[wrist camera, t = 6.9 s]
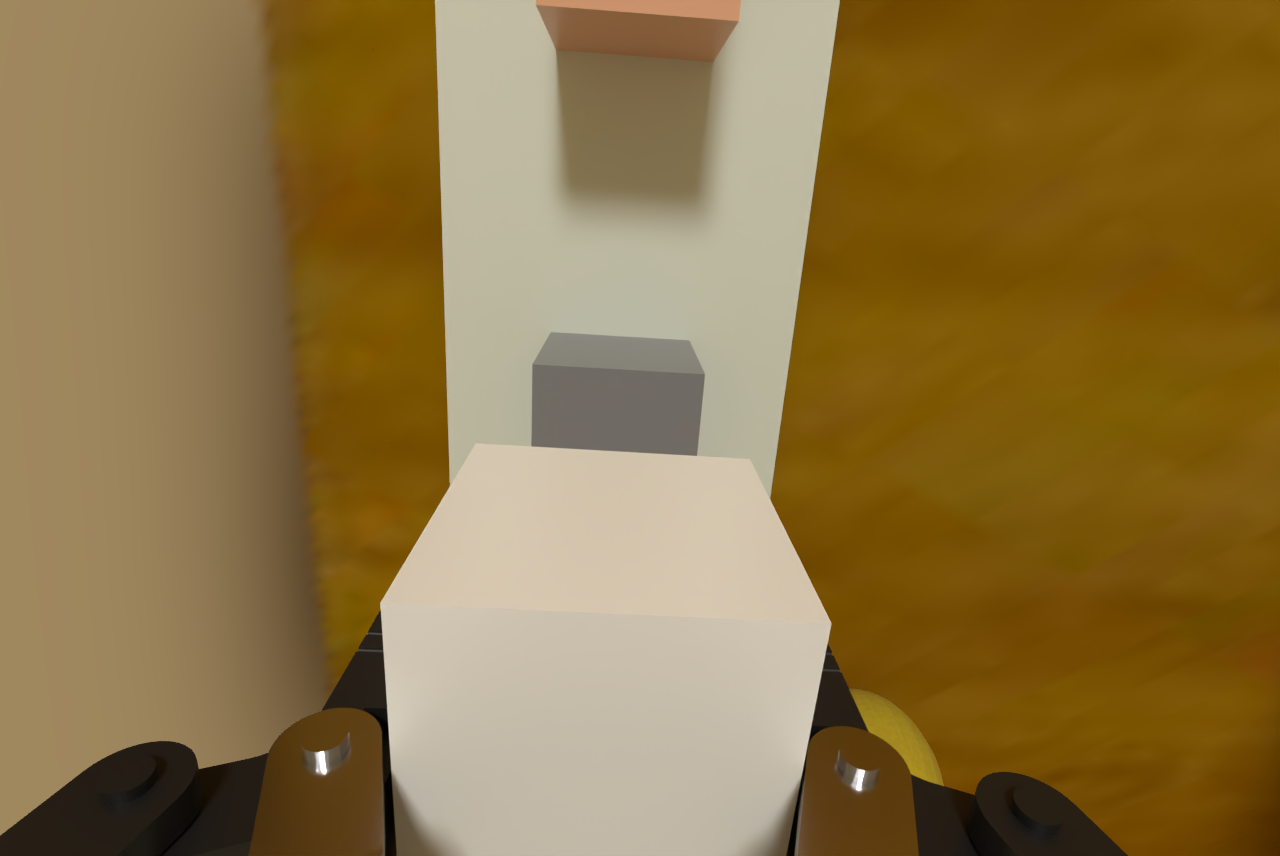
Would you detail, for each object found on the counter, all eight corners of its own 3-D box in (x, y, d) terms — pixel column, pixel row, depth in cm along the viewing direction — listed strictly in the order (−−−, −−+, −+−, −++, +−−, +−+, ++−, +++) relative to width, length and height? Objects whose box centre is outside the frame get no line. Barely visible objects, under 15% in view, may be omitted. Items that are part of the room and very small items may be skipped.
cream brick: (711, 744, 14) (755, 1012, 9) (478, 735, 14) (407, 1006, 9) (749, 459, 12) (831, 623, 7) (476, 443, 11) (380, 602, 7)
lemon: (813, 631, 28) (882, 787, 21) (918, 678, 29) (1020, 843, 22) (748, 723, 30) (790, 900, 22) (850, 766, 31) (923, 948, 23)
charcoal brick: (674, 507, 25) (685, 574, 20) (547, 500, 25) (529, 567, 20) (689, 340, 23) (705, 374, 18) (550, 332, 23) (532, 364, 18)
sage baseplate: (759, 516, 27) (765, 530, 25) (458, 501, 26) (450, 514, 25) (856, -198, 19) (870, -224, 18) (438, -238, 19) (427, -266, 18)
